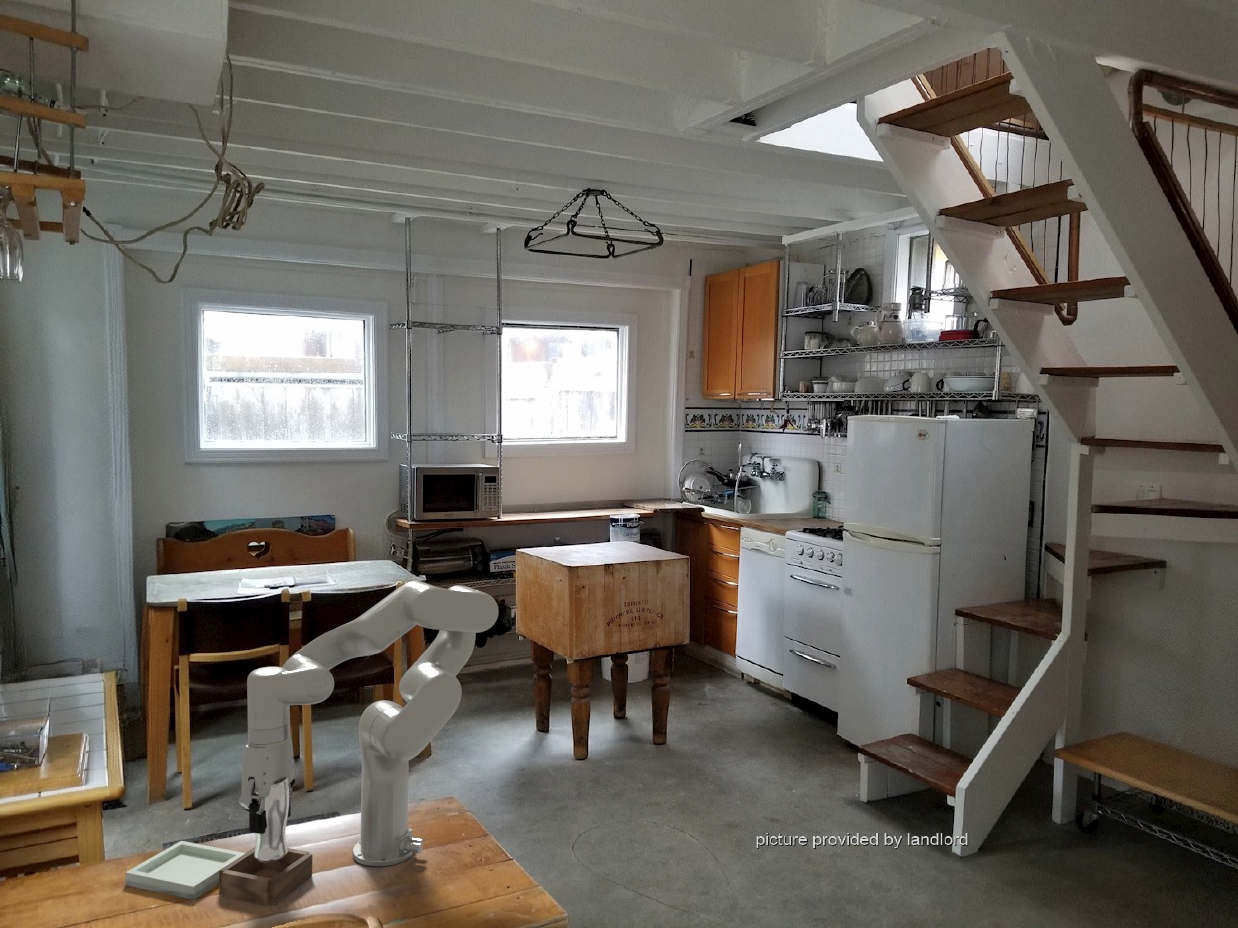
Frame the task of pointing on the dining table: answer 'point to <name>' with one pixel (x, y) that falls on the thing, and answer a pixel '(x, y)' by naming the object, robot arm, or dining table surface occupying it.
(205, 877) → the sage tray
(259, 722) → the robot arm
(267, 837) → the beer glass
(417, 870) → the dining table surface
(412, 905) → the dining table surface
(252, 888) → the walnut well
